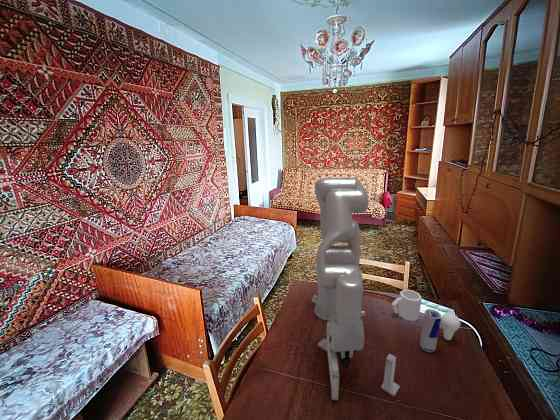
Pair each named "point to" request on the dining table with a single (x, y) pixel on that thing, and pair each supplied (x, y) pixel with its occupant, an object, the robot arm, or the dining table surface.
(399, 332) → the dining table surface
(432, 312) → the beverage can
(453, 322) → the lightbulb
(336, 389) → the bar
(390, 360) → the gate posts
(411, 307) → the mug
